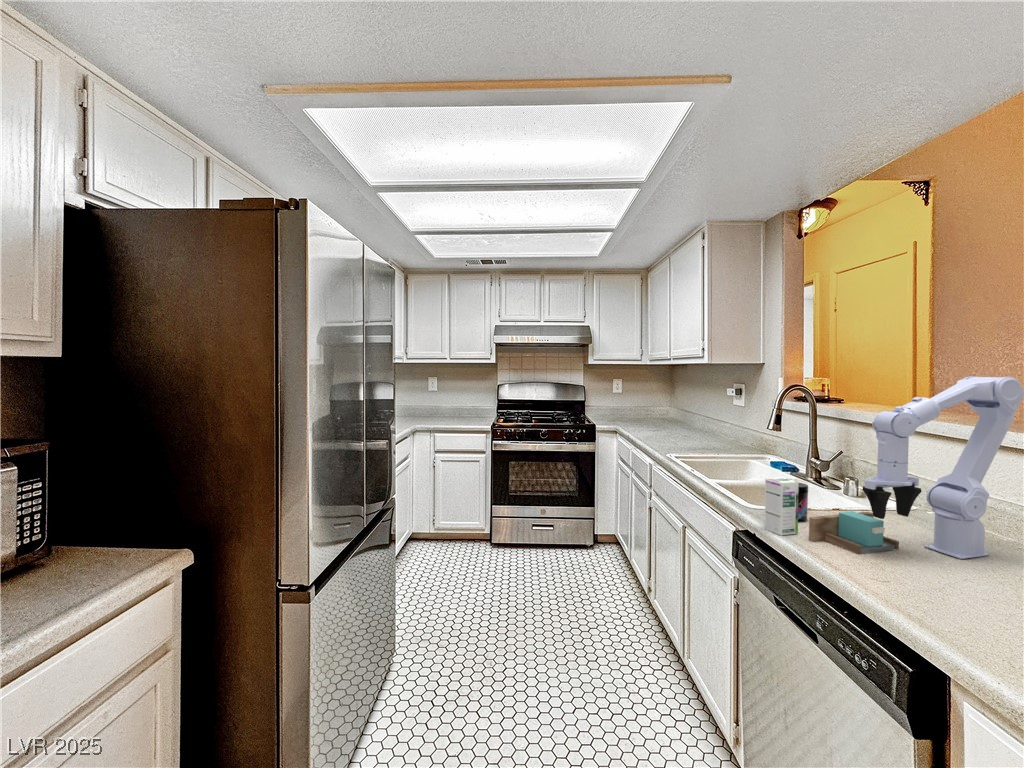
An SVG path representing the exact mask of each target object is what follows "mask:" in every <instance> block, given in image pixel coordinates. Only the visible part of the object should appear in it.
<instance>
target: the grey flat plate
mask: <svg viewBox="0 0 1024 768" xmlns="http://www.w3.org/2000/svg"><path fill="white" fill-rule="evenodd" d="M835 536H837V537H840V538H843V539H845V540H848V541H851V542H853V543H856V544H859V545H861V546H862V553H864V554H871V553H878V552H879V553H880V552H886V551H887V550H888V551H894V550H893V549H895V545H894V544H891V543H889V542H886V541H883V545H878V546H870V547H869V546H866V545H863V544H861V543H858V542H855V541H853V540H850V539H847V538H844V537H842V536H839V535H835Z"/></svg>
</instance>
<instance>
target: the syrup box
mask: <svg viewBox="0 0 1024 768" xmlns="http://www.w3.org/2000/svg"><path fill="white" fill-rule="evenodd" d="M798 482H799V481H798V480H795V479H793V478H788V477H770V478H769V477H767V478H764V484H765V485H764V529H765V530H766V531H769V532H771V533H774V535H775V534H776V535H778V536H781V537H782V536H788V535H797V534H798V533H799V522H798Z"/></svg>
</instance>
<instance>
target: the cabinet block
mask: <svg viewBox="0 0 1024 768" xmlns="http://www.w3.org/2000/svg"><path fill="white" fill-rule="evenodd" d="M859 513H860V512H856V511H840V512H838V515H839V528H838V535H839V536H842V537H844V538H847V539H850V540H853V541H855V542H858V543H861V544H863V545H866V546H869V547H870V546H878V545H883V536H884V533H885V527H884V523H885V521H884V520H883V519H880V518H877V517H874V518H872V517H869V516H866V515H863V514H859Z"/></svg>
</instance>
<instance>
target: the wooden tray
mask: <svg viewBox="0 0 1024 768" xmlns="http://www.w3.org/2000/svg"><path fill="white" fill-rule="evenodd" d="M858 513H859V514H863V515H866V516H869V517H872V518H875V517H874V516H873V512H870V511H861V512H858ZM808 522H809V523H808V524H809V526H808V541H811V542H813V543H817V542H818V543H819V542H826V541H827V542H826V543H829V544H831V543H832V544H831V545H834V546H836V545H837V547H839V546H840V547H839V548H841V547H843V548H842V549H844V548H845V549H844V550H846V549H848V550H847V551H849V550H850V551H849V552H851V551H852V553H854V552H855V554H856V553H857V554H856V555H863V554H862V546H861V545H859V544H856V543H853V542H851V541H848V540H845V539H843V538H840V537H837V536H835V535H838V528H839V514H830V515H819V516H810V517H809V519H808ZM883 541H886V542H889V543H891V544H894V545H895V549H898V550H899V549H900V540H896V539H893V538H890V537H888V536H885V535H883Z"/></svg>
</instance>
